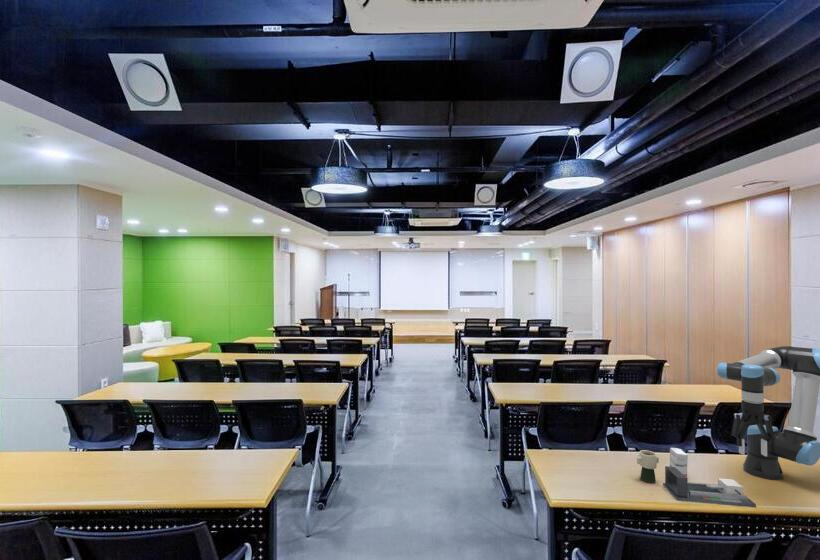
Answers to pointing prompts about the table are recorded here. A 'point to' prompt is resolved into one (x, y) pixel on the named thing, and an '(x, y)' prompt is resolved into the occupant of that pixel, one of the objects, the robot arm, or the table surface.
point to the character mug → (647, 465)
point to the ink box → (679, 460)
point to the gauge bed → (699, 491)
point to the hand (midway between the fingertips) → (752, 454)
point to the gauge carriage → (727, 487)
